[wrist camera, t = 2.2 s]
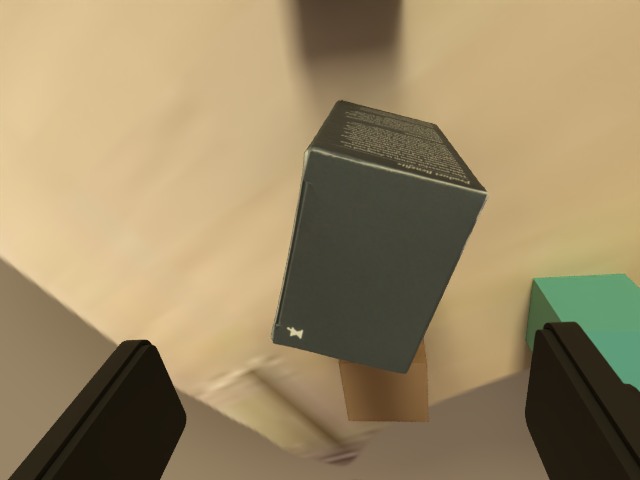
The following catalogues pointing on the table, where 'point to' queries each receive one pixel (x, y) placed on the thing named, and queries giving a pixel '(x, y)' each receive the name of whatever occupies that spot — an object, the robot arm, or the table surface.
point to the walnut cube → (386, 391)
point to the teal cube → (593, 316)
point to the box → (374, 237)
